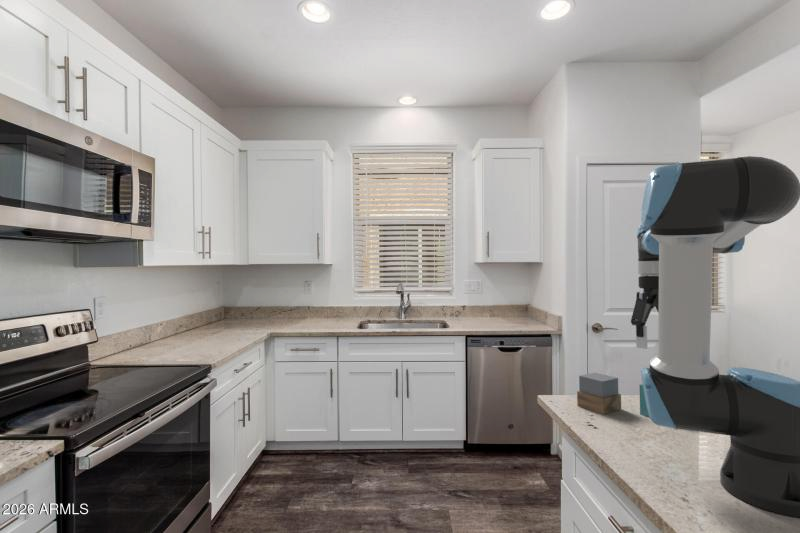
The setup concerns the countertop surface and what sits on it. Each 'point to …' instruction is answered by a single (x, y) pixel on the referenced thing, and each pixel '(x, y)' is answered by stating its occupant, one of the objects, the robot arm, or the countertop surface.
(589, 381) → the charcoal block
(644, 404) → the teal block
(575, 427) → the countertop surface
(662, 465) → the countertop surface
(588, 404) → the walnut base
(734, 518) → the countertop surface
